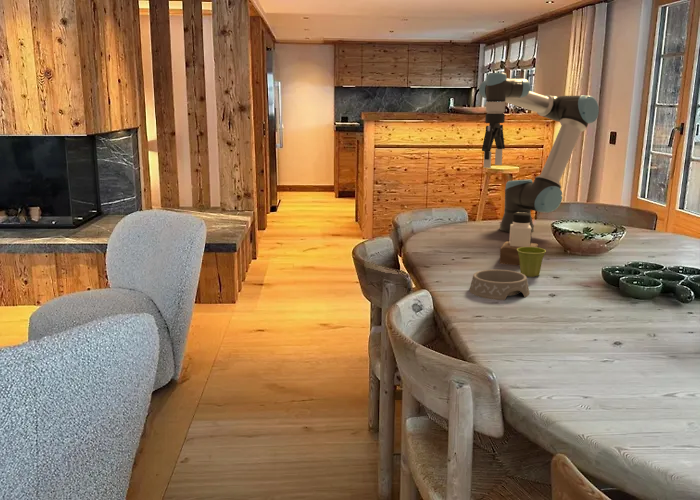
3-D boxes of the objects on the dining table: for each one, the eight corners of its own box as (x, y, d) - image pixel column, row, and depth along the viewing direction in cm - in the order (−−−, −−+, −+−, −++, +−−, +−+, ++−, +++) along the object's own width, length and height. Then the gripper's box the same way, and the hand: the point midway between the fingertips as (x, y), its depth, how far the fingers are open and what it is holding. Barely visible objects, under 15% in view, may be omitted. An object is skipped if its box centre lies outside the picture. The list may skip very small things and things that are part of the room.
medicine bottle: (530, 247, 224) (533, 214, 221) (510, 246, 225) (512, 214, 222) (528, 243, 230) (531, 211, 228) (509, 242, 232) (511, 210, 229)
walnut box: (504, 257, 237) (505, 241, 235) (537, 259, 232) (538, 243, 231) (499, 264, 226) (500, 247, 224) (533, 267, 221) (534, 250, 220)
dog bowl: (459, 287, 197) (459, 271, 196) (508, 282, 204) (509, 266, 202) (488, 303, 182) (489, 285, 181) (541, 296, 188) (542, 279, 187)
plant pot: (545, 279, 205) (547, 253, 203) (516, 277, 207) (517, 252, 205) (543, 271, 214) (544, 247, 212) (514, 270, 216) (516, 246, 214)
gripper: (496, 112, 260) (494, 163, 265) (475, 113, 240) (473, 168, 245) (513, 112, 257) (511, 164, 261) (493, 113, 236) (491, 169, 241)
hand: (492, 166), depth 253 cm, fingers open, 13 cm apart
